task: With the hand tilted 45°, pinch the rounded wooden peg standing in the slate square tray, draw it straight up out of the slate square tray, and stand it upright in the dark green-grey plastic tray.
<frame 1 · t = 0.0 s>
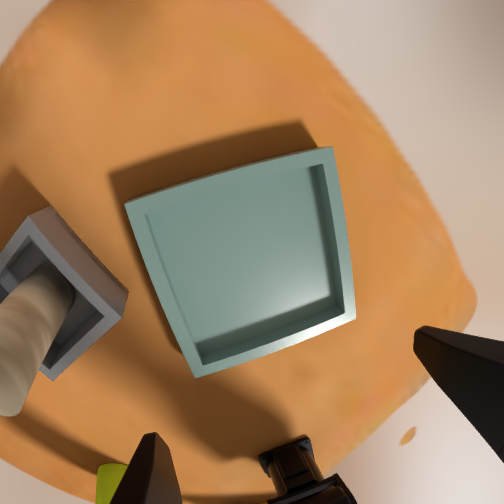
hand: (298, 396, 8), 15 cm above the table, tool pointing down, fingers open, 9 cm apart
rounded wooden peg: (51, 289, 19), point 1 cm above the table, touching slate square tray
soap dispenser: (124, 474, 27), on the table
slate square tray: (54, 285, 19), on the table
green-grey tray: (251, 261, 23), on the table
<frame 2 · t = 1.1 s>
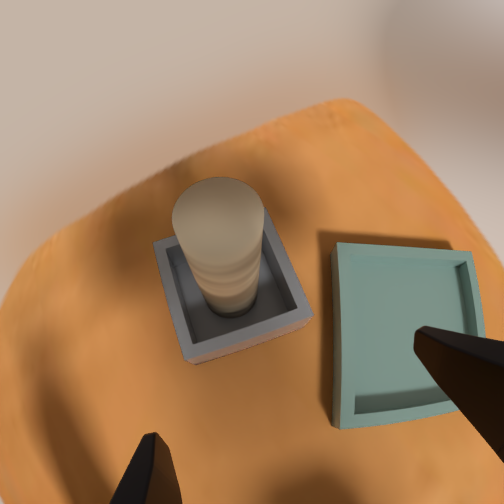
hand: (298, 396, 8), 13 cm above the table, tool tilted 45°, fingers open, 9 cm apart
rounded wooden peg: (230, 292, 23), point 1 cm above the table, touching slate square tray
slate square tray: (231, 295, 24), on the table
green-grey tray: (411, 334, 22), on the table
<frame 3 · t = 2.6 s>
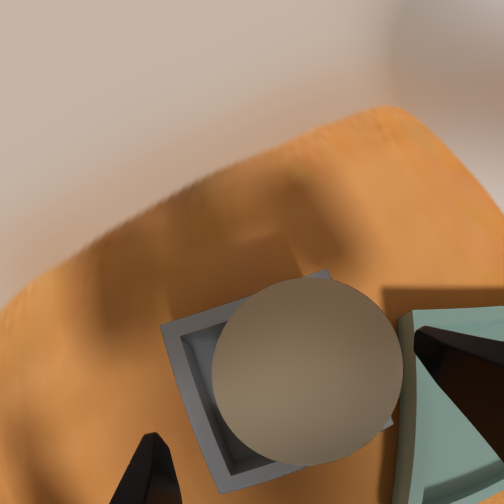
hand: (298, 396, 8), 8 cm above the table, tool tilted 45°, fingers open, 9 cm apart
rounded wooden peg: (273, 384, 16), point 1 cm above the table, touching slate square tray
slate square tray: (271, 384, 16), on the table
green-grey tray: (478, 407, 15), on the table
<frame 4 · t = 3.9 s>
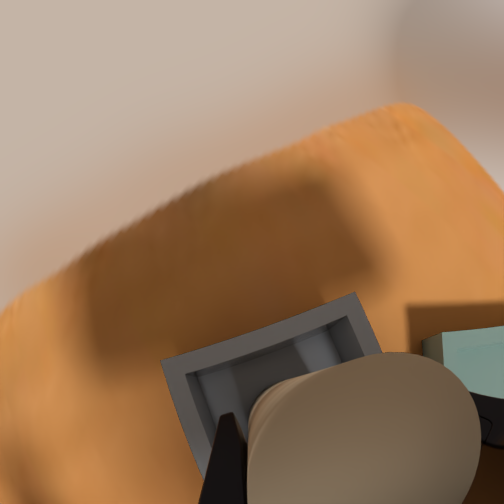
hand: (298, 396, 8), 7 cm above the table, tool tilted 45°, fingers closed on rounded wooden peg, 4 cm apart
rounded wooden peg: (289, 418, 13), point 1 cm above the table, touching gripper, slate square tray
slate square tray: (287, 417, 14), on the table
green-grey tray: (499, 428, 12), on the table
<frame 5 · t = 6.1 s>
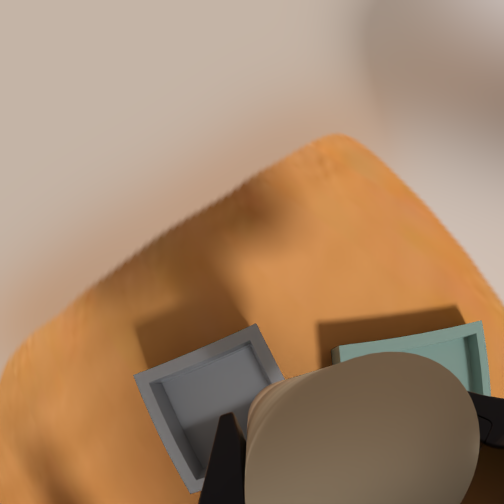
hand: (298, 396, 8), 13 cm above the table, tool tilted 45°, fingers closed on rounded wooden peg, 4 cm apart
rounded wooden peg: (289, 418, 13), point 8 cm above the table, touching gripper
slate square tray: (226, 408, 20), on the table
green-grey tray: (416, 418, 19), on the table
when the fingers open (8 cm above the table, at t = 8.3 s): rounded wooden peg drops 1 cm, resting on green-grey tray.
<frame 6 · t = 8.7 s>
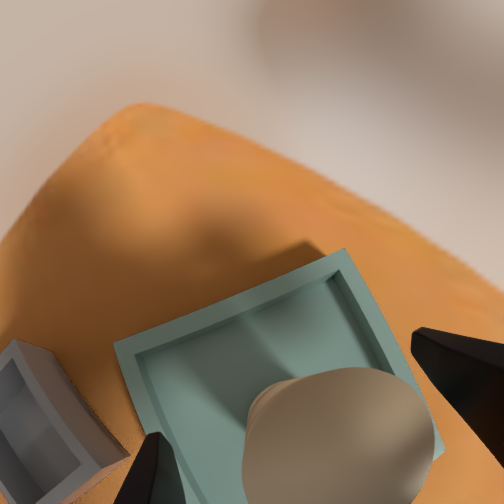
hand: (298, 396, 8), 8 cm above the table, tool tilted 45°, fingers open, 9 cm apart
rounded wooden peg: (285, 416, 14), point 1 cm above the table, touching green-grey tray
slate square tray: (49, 436, 14), on the table
green-grey tray: (284, 415, 15), on the table
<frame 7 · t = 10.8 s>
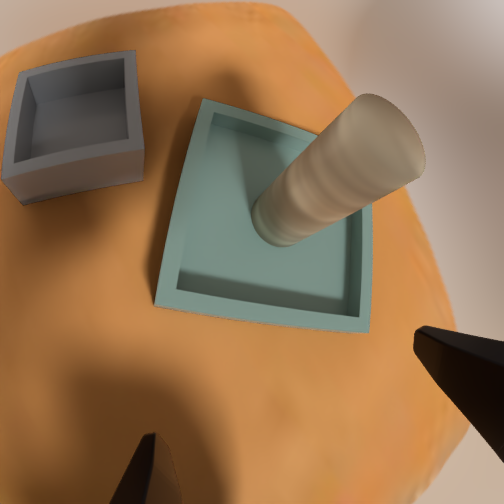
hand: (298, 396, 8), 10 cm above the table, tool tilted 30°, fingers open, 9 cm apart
rounded wooden peg: (279, 218, 21), point 1 cm above the table, touching green-grey tray
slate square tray: (78, 137, 18), on the table
green-grey tray: (274, 222, 21), on the table
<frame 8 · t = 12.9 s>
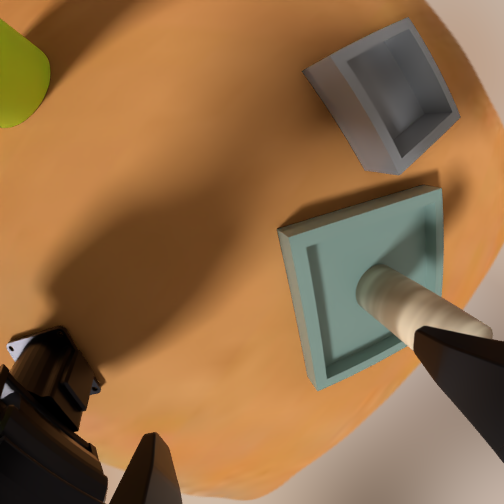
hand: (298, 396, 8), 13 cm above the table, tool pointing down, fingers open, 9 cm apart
rounded wooden peg: (375, 287, 24), point 1 cm above the table, touching green-grey tray
soap dispenser: (13, 93, 13), on the table
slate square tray: (373, 94, 20), on the table
green-grey tray: (370, 283, 24), on the table
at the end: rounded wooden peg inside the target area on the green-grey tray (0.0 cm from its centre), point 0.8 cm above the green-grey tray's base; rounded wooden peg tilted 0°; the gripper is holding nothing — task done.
